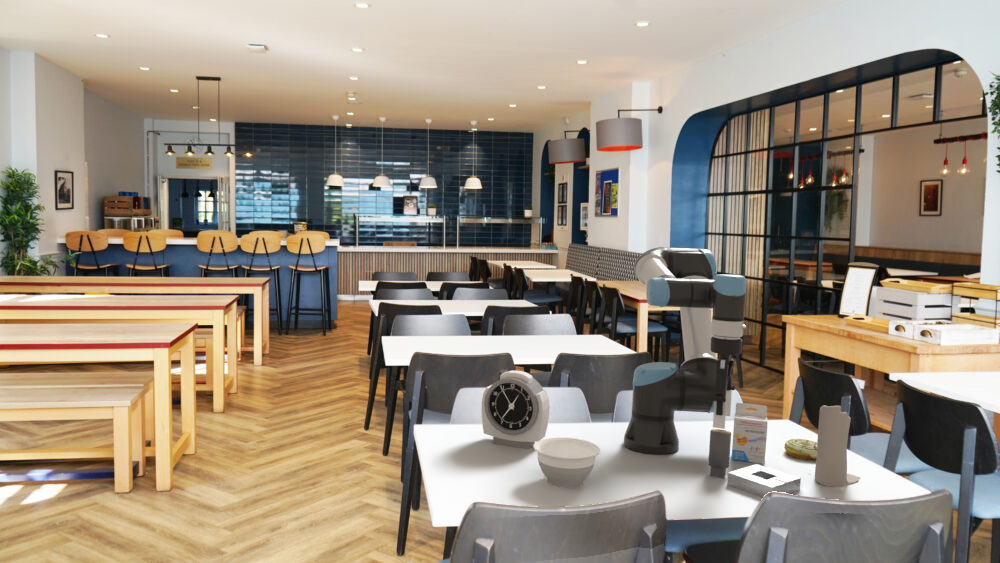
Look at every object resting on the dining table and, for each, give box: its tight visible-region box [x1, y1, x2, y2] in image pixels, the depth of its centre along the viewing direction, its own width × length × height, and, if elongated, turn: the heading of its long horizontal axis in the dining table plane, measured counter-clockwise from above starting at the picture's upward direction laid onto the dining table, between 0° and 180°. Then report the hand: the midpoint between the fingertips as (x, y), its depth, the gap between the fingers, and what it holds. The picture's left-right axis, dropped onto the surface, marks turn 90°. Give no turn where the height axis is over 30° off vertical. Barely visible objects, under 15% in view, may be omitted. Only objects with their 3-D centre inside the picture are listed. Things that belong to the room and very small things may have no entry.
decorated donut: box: [783, 438, 817, 461], centre depth 211 cm, size 10×11×4 cm
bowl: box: [532, 437, 601, 489], centre depth 182 cm, size 16×16×8 cm
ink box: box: [731, 402, 768, 465], centre depth 205 cm, size 8×5×15 cm, turn 73°
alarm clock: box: [481, 370, 550, 450], centre depth 211 cm, size 18×8×20 cm, turn 68°
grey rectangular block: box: [707, 428, 732, 479], centre depth 191 cm, size 5×5×11 cm
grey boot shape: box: [814, 404, 861, 488], centre depth 191 cm, size 7×14×20 cm, turn 123°
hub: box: [726, 463, 802, 498], centre depth 184 cm, size 12×12×3 cm
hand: (721, 421), depth 190 cm, fingers open, 13 cm apart
